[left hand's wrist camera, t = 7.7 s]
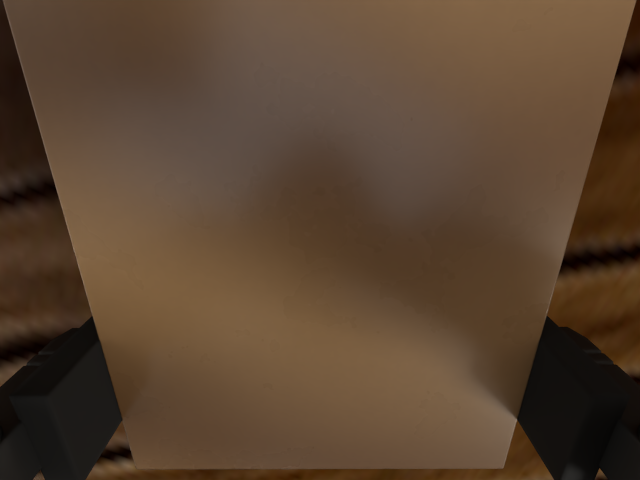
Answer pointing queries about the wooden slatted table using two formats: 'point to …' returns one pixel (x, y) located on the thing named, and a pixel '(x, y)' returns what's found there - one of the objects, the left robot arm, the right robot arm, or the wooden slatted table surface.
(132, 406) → the cabinet
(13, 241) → the wooden slatted table surface
